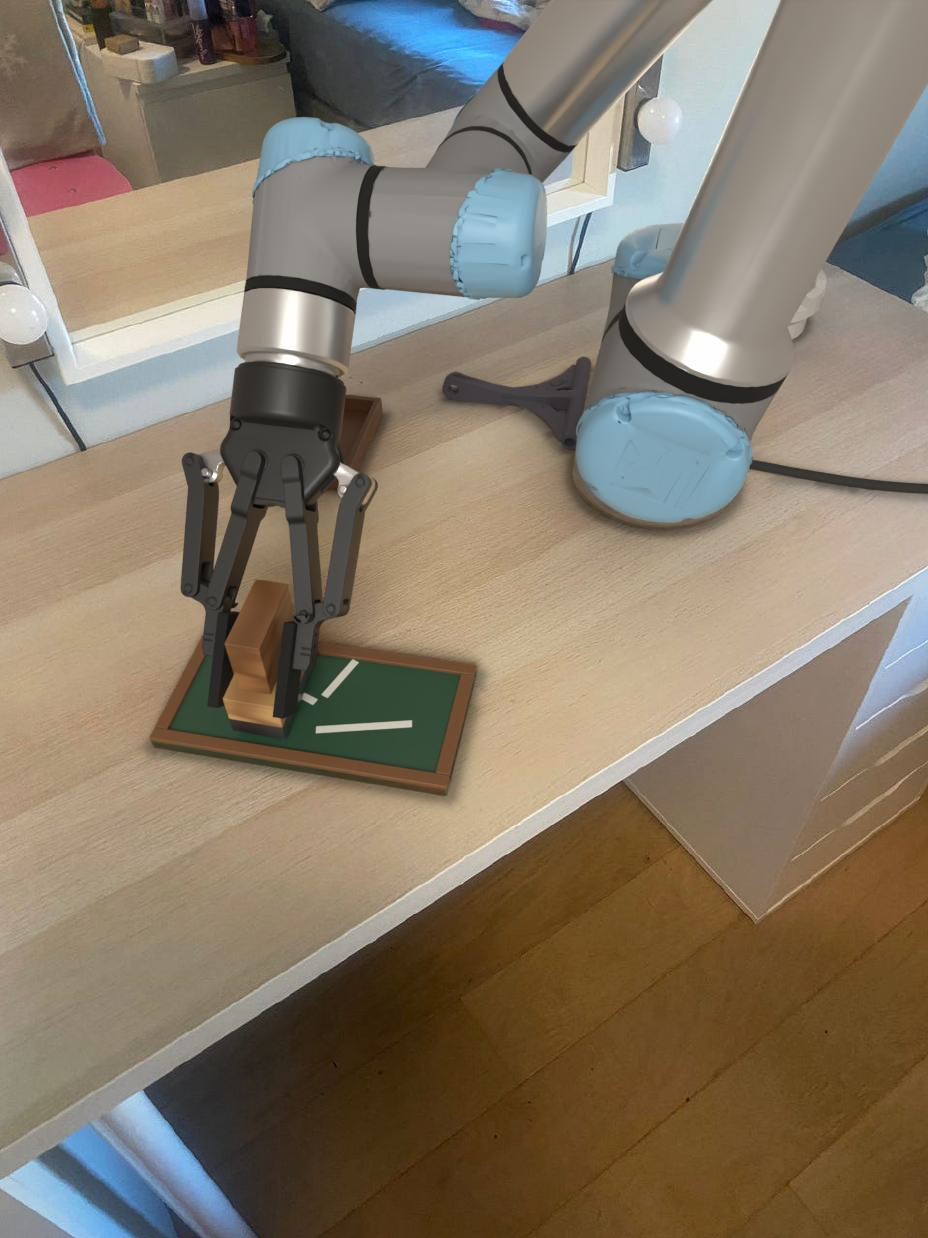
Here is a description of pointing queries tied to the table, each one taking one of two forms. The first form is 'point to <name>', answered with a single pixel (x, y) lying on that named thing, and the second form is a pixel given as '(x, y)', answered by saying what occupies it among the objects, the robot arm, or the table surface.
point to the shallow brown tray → (358, 430)
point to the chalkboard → (340, 720)
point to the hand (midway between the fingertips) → (252, 709)
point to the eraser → (259, 661)
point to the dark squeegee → (533, 397)
